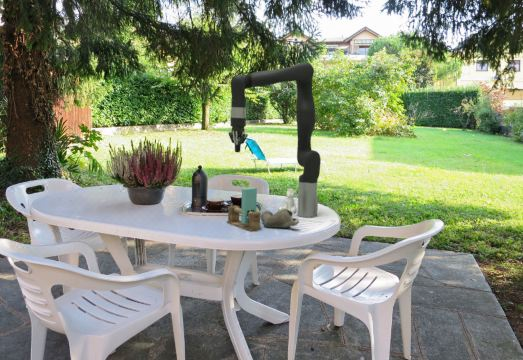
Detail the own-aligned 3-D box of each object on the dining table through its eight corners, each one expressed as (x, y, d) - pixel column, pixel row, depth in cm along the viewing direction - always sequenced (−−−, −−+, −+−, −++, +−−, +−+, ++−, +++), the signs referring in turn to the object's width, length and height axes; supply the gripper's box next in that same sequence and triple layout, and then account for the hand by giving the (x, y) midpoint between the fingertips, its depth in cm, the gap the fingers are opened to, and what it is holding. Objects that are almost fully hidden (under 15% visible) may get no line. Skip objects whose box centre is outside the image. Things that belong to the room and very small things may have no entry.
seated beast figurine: (276, 211, 240) (277, 188, 238) (284, 208, 247) (284, 186, 245) (293, 214, 236) (294, 191, 233) (300, 210, 243) (301, 188, 241)
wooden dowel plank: (226, 222, 215) (227, 206, 214) (237, 221, 219) (237, 204, 218) (250, 231, 202) (251, 213, 201) (261, 229, 206) (261, 212, 205)
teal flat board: (241, 222, 206) (241, 188, 204) (252, 220, 211) (253, 187, 208) (244, 224, 204) (245, 189, 202) (255, 221, 209) (256, 188, 206)
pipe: (275, 246, 209) (304, 229, 209) (268, 236, 203) (298, 219, 203) (262, 220, 220) (289, 205, 220) (255, 210, 214) (283, 194, 214)
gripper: (223, 116, 228) (223, 151, 231) (240, 117, 218) (239, 154, 221) (236, 116, 233) (235, 150, 236) (252, 117, 223) (251, 153, 226)
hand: (237, 152), depth 229 cm, fingers closed
